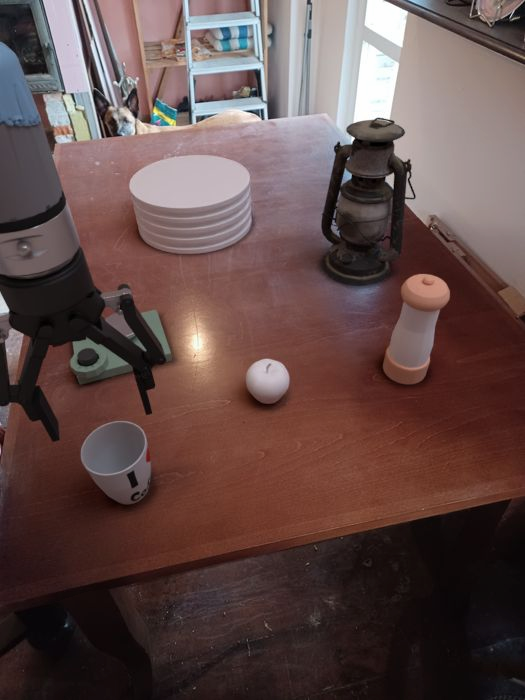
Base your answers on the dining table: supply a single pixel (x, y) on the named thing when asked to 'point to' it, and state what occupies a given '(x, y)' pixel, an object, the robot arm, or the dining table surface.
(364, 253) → the lantern
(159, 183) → the plate stack
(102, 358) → the scale
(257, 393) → the plain white apple
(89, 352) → the button
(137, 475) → the cup
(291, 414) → the dining table surface
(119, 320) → the pan
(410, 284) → the salt shaker
